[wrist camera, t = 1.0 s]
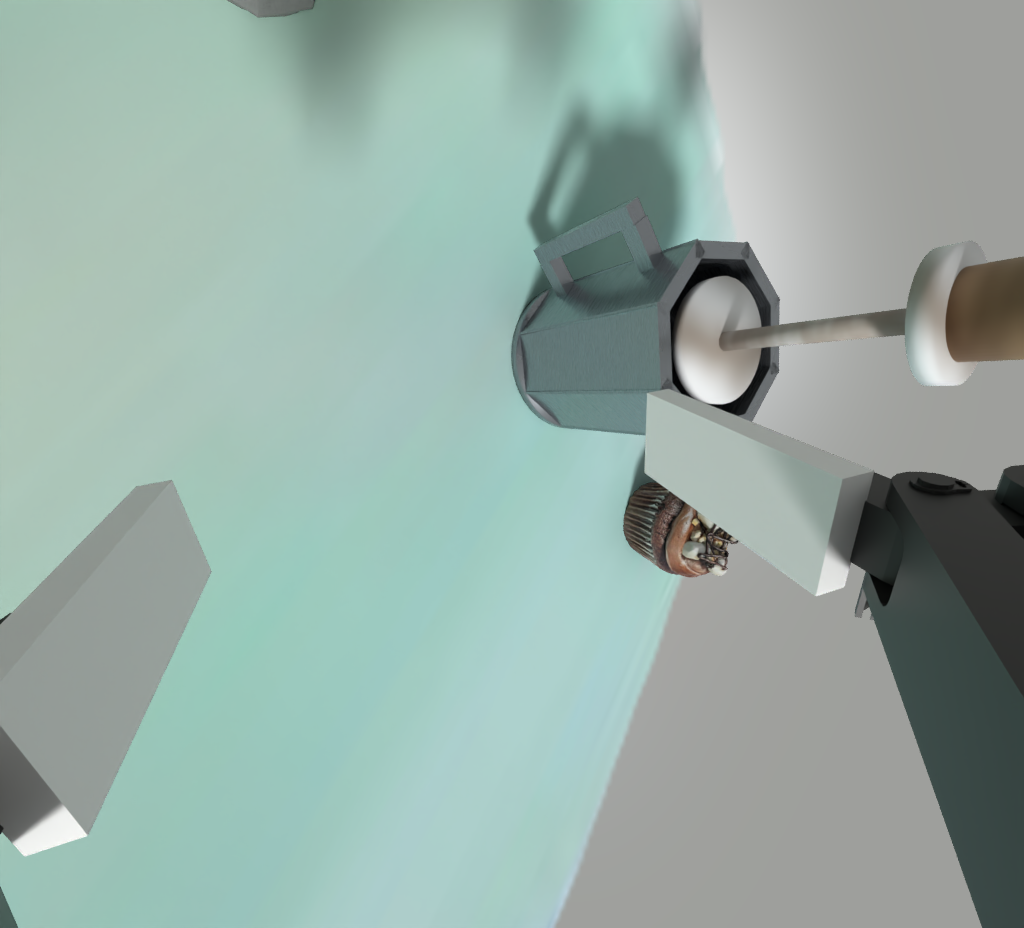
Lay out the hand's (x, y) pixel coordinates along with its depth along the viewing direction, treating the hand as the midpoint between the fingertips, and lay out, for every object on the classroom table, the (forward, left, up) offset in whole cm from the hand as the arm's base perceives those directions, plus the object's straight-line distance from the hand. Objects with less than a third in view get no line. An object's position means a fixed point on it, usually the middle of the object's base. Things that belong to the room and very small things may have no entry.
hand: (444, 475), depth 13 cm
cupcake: (+15, +32, -24) cm, 43 cm away
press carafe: (-4, +23, -23) cm, 33 cm away
